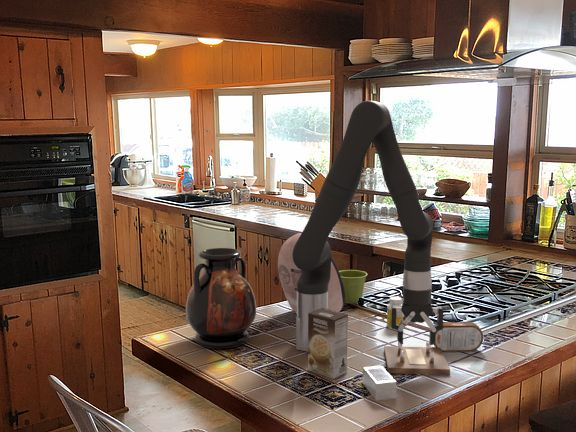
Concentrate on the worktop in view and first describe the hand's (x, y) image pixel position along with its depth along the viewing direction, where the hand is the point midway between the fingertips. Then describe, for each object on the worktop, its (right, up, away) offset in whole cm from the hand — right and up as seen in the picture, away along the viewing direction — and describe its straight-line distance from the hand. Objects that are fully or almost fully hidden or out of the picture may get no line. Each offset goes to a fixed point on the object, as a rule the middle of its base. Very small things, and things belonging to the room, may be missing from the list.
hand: (416, 343), depth 161 cm
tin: (+14, -4, +9) cm, 17 cm away
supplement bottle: (0, -1, +31) cm, 31 cm away
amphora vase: (-56, -3, +19) cm, 59 cm away
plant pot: (-12, +2, +59) cm, 60 cm away
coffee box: (-25, -7, -5) cm, 26 cm away
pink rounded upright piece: (-27, 0, +41) cm, 50 cm away
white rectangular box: (-13, -8, -17) cm, 23 cm away
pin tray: (0, -5, +1) cm, 5 cm away
